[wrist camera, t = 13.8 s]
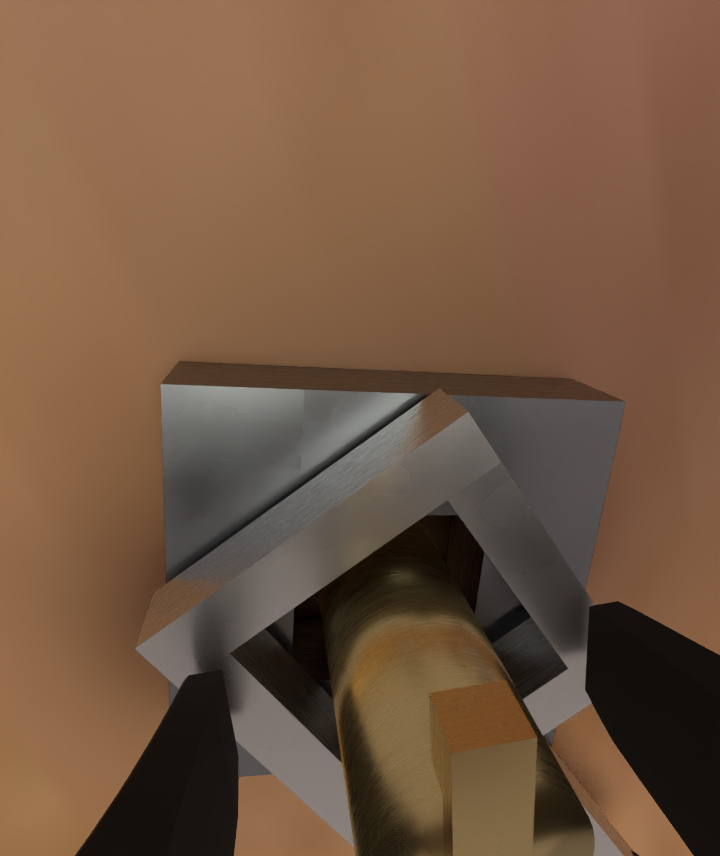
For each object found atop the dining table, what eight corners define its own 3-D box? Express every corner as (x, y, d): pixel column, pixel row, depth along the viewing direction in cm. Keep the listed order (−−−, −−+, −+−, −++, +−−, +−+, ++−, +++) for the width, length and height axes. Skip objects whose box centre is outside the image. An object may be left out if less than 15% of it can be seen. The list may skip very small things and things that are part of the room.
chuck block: (571, 378, 15) (625, 401, 13) (514, 689, 18) (549, 753, 16) (179, 361, 13) (161, 383, 11) (185, 707, 16) (171, 781, 14)
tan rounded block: (423, 453, 15) (628, 720, 6) (429, 619, 17) (598, 1006, 8) (303, 467, 15) (351, 771, 6) (320, 635, 16) (377, 1063, 8)
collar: (728, 825, 17) (790, 903, 15) (531, 953, 18) (565, 1045, 16) (436, 385, 12) (472, 414, 10) (155, 587, 12) (131, 656, 10)
